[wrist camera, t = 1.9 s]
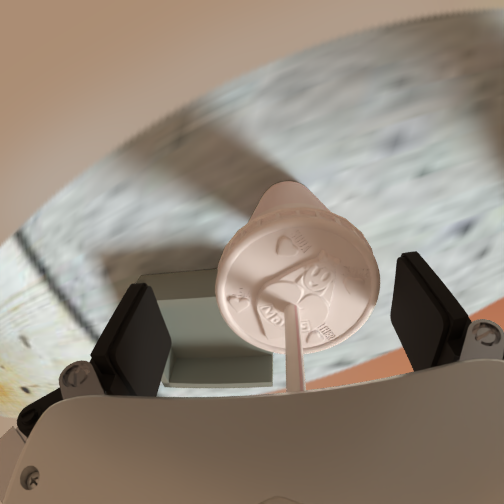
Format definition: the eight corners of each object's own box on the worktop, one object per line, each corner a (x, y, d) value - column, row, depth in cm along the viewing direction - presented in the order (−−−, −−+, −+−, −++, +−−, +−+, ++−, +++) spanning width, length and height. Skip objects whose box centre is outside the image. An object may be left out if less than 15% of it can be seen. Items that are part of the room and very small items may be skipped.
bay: (259, 264, 22) (257, 293, 19) (273, 355, 26) (272, 386, 23) (140, 275, 23) (123, 302, 20) (173, 358, 27) (164, 387, 24)
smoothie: (221, 225, 21) (158, 405, 8) (269, 141, 18) (265, 240, 6) (302, 267, 22) (325, 455, 9) (355, 193, 19) (464, 349, 7)
